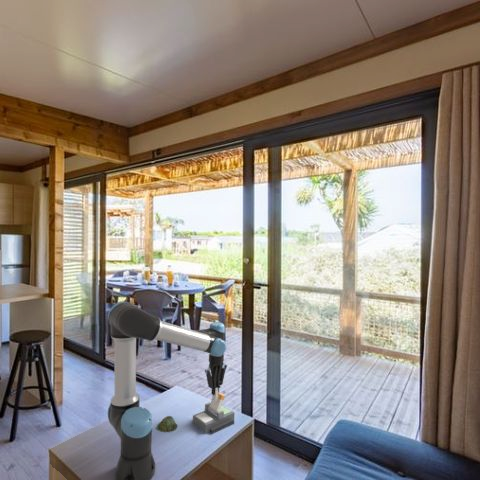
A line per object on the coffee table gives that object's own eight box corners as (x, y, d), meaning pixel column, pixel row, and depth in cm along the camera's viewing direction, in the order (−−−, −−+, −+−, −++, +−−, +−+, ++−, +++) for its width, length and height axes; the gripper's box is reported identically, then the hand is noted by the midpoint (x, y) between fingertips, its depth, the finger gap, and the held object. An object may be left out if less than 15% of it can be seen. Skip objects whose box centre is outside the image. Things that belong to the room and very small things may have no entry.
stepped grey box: (206, 433, 159) (206, 418, 158) (192, 423, 167) (192, 408, 167) (234, 420, 171) (235, 406, 171) (220, 411, 179) (220, 397, 179)
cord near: (212, 434, 159) (212, 430, 159) (209, 432, 160) (209, 428, 160) (234, 423, 168) (234, 420, 168) (231, 422, 169) (231, 418, 169)
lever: (216, 415, 165) (222, 395, 167) (207, 409, 171) (213, 390, 173) (219, 415, 166) (226, 396, 169) (210, 409, 172) (216, 391, 175)
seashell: (154, 422, 159) (162, 412, 169) (153, 431, 159) (161, 419, 169) (174, 426, 158) (181, 415, 168) (173, 435, 158) (180, 423, 168)
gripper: (210, 358, 161) (209, 407, 162) (231, 353, 170) (229, 398, 171) (201, 354, 167) (200, 401, 167) (221, 349, 176) (220, 393, 176)
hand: (215, 400), depth 169 cm, fingers closed
